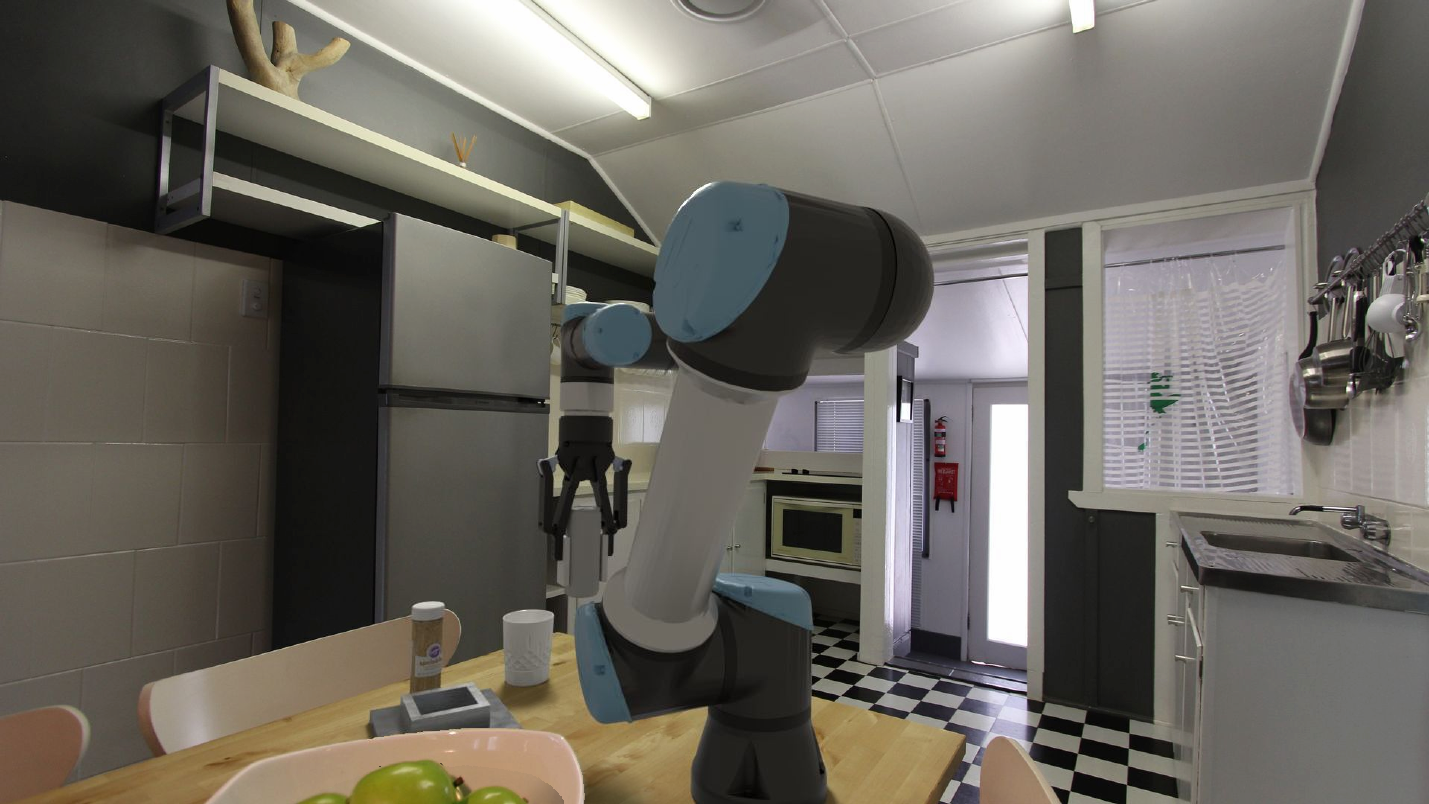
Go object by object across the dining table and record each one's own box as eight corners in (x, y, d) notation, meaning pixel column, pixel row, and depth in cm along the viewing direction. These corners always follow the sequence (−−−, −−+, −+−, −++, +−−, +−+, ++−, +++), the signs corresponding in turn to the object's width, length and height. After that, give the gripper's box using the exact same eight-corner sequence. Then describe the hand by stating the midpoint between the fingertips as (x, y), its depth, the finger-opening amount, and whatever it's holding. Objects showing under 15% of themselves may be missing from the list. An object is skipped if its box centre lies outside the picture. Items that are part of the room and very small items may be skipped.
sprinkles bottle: (425, 703, 97) (428, 609, 98) (401, 698, 99) (404, 606, 99) (448, 692, 101) (451, 602, 102) (424, 687, 103) (428, 599, 104)
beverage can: (556, 595, 92) (559, 508, 93) (579, 589, 96) (581, 505, 97) (584, 600, 90) (586, 510, 90) (606, 593, 94) (608, 507, 95)
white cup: (537, 667, 113) (539, 606, 113) (561, 680, 107) (563, 616, 107) (492, 678, 107) (494, 615, 108) (515, 692, 102) (517, 625, 102)
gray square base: (522, 740, 86) (523, 708, 86) (383, 773, 77) (385, 737, 77) (490, 698, 99) (491, 670, 99) (369, 721, 91) (370, 691, 91)
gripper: (633, 416, 102) (629, 571, 101) (515, 413, 93) (510, 583, 92) (655, 416, 96) (652, 580, 95) (531, 412, 86) (525, 595, 85)
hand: (582, 581), depth 93 cm, fingers closed on beverage can, 5 cm apart
